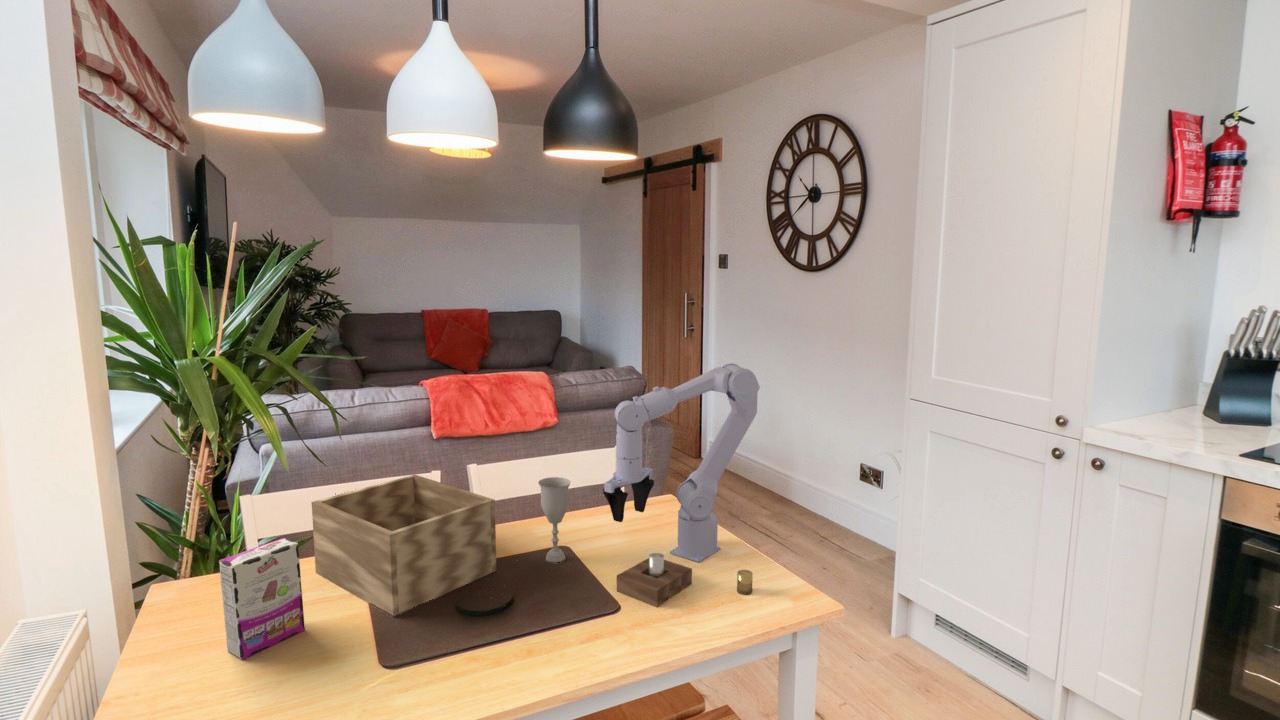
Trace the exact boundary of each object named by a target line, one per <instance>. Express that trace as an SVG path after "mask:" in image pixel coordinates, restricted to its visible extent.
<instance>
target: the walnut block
mask: <svg viewBox="0 0 1280 720" xmlns="http://www.w3.org/2000/svg"><path fill="white" fill-rule="evenodd" d="M692 577H693V567H692V568H691V567H689V566H685V565H681V564H679V563H677V562H673V561H669V560H667V559H664V575H662V576H661V577H659V578H654V577H651V576H649V557H648V558H646V559H644V560H643V561H641V562H639V563H637V564H635V565H634V566H631V567H630V568H628V569H626V570H624V571H623V572H620V573H619V574H616V592H617V593H619V594H622V595H624V596H627V597H630V598H632V599H635V600H637V601H639V602H643V603H645V604H647V605H650V606H653V607H655V608H659V607H660V606H662V605H663V604H665V603H666V602H668V601H669V600H670V599H672V598H674V597H675V596H676V595H678V594H680V593H681V592H683V591H684V590H685V589H686V588H689V587H690V586H691V585H692V583H693V578H692Z"/></svg>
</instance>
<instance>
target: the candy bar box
mask: <svg viewBox="0 0 1280 720" xmlns="http://www.w3.org/2000/svg"><path fill="white" fill-rule="evenodd" d="M218 565H219V573H220V575H219V576H220V585H221V596H222V597H221V598H222V604H223V605H222V606H223V616H224V628H225V636H226V644H227V647H226V648H227V652H228V653H229V654H231V655H233V656H235V657H237V658H238V659H239V660H246V659H249V657H252V656H254V655H257V654H258V653H260V652H262V651H264V650H267V649H268V648H271V647H273V646H275V645H277V644H279V643H281V642H283V641H285V640H287V639H289V638H291V637H294V636H296V635H297V634H300V633H302V632H303V631H305V629H306V627H305V614H304V600H303V592H302V591H303V590H302V578H301V577H302V576H301V575H302V574H301V564H300V552H299V543H298V542H296V541H294V540H290V539H288V538H285V537H282V538H278V539H277V540H274V541H271V542H268V543H265V544H263V545H258V546H256V547H253V548H250V549H247V550H245V551H244V550H243V551H242V552H238V553H236V554H233V555H231V556H230V555H229V556H228V557H225V558H222V559H219V560H218Z"/></svg>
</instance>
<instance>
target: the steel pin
mask: <svg viewBox="0 0 1280 720" xmlns="http://www.w3.org/2000/svg"><path fill="white" fill-rule="evenodd" d="M648 558H649V576H651V577H654V578H659V577H661V576H662V575H664V560H665V555H664V554H663V553H661V552H660V553H659V552H653V553H650V554H649V555H648Z"/></svg>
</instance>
